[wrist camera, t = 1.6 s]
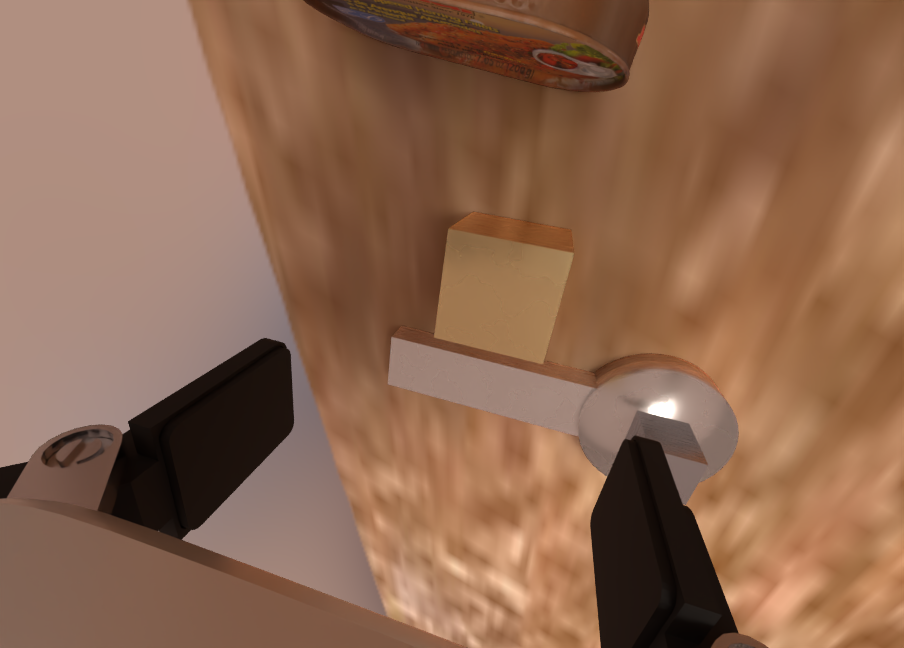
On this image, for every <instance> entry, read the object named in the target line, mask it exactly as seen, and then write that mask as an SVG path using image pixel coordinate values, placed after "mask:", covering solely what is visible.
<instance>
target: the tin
mask: <svg viewBox="0 0 904 648" xmlns="http://www.w3.org/2000/svg"><path fill="white" fill-rule="evenodd" d="M304 1H305V2H306V3H307V4H309V5H310V6H312V7H313V8H315V9H316V10H318V11H320V12H321V13H323V14H325V15H327V16H328V17H330V18H332V19H334V20H336V21H338V22H340V23H342V24H344V25H346V26H348V27H350V28H352V29H354V30H356V31H358V32H360V33H362V34H364V35H367V36H369V37H371V38H374V39H376V40H379V41H382V42H384V43H387V44H390V45H393V46H396V47H400V48H404V49H406V50H409V51H413V52H416V53H420V54H424V55H428V56H432V57H435V58H439V59H443V60H447V61H451V62H455V63H459V64H463V65H466V66H470V67H474V68H478V69H482V70H486V71H489V72H493V73H497V74H501V75H504V76H508V77H512V78H516V79H520V80H524V81H528V82H531V83H535V84H539V85H544V86H549V87H553V88H560V89H566V90H573V91H583V92H600V91H609V90H614V89H617V88H620V87H622V86H624V85H625V84H626V83H627V81H628V79H629V70H630V67H631V65H632V62H633V59H634V56H635V54H636V51H637V49H638V46H639V44H640V41H641V39H642V36H643V34H644V31H645V28H646V24H647V21H648V16H649V0H304Z"/></svg>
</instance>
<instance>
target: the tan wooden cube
mask: <svg viewBox="0 0 904 648" xmlns="http://www.w3.org/2000/svg"><path fill="white" fill-rule="evenodd" d="M573 256H574V247H573V239H572V231H571V230H570V229H564V228H559V227H554V226H548V225H543V224H537V223H532V222H527V221H521V220H516V219H510V218H505V217H500V216H494V215H489V214H483V213H478V212H472V213H471V214H469V215H468V216H466V217H465V218H463V219H462V220H460V221H459V222H457V223H456V224H454V225H453V226H451V227H450V228H448V234H447V242H446V250H445V257H444V265H443V272H442V280H441V288H440V295H439V303H438V311H437V318H436V326H435V333H434V338H438V339H442V340H446V341H450V342H454V343H458V344H462V345H466V346H470V347H474V348H478V349H482V350H486V351H491V352H495V353H499V354H503V355H507V356H511V357H515V358H519V359H523V360H527V361H531V362H535V363H539V364H543V362H544V359H545V355H546V352H547V348H548V345H549V341H550V338H551V334H552V331H553V327H554V323H555V320H556V316H557V313H558V309H559V306H560V302H561V299H562V295H563V292H564V288H565V284H566V281H567V277H568V274H569V270H570V267H571V263H572V260H573Z"/></svg>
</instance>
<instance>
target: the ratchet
mask: <svg viewBox="0 0 904 648" xmlns="http://www.w3.org/2000/svg"><path fill="white" fill-rule="evenodd" d="M388 384H389V385H392V386H396V387H400V388H403V389H407V390H411V391H414V392H418V393H422V394H425V395H429V396H432V397H436V398H440V399H443V400H447V401H451V402H454V403H458V404H462V405H465V406H469V407H473V408H476V409H480V410H483V411H487V412H491V413H494V414H498V415H502V416H505V417H509V418H513V419H516V420H520V421H523V422H527V423H531V424H534V425H538V426H542V427H545V428H549V429H553V430H556V431H560V432H564V433H567V434H571V435H574V436H578V437H579V440H580V444H581V447H582V449H583V452H584V453H585V455H586V457H587V458H588V460H589V461H590V462H591V463H592V465H593V466H595V467H596V468H597V469H598V470H599V471H600V472H602V473H603V474H604V475H606V476H607V477H608V474H609V472H610V470H611V467H612V465H613V463H614V460H615V458H616V455H617V453H618V451H619V448H620V446H621V444H622V442H623V440H624V439H628V440H631V438H632V437H633V436H635V435H636V436H640V437H644V438H647V439H651V440H655V441H658V442H660V443H661V445H662V448H663V450H664V453H665V456H666V459H667V462H668V464H669V467H670V470H671V473H672V476H673V478H674V481H675V484H676V487H677V490H678V492H679V495H680V498H681V501H682V504H685V505H686V503H687V502H688V500H689V498H690V497H691V495H692V493H693V491H694V490H695V488H696V486H697V485H698V483H700V482H702V481H704V480H706V479H708V478H709V477H711V476H713V475H714V474H715V473H717V472H718V471H719V470H721V469H722V468H723V466H724V465H725V464H726V463H727V462H728V461H729V459H730V458H731V457H732V455H733V453H734V451H735V449H736V445H737V442H738V434H739V432H738V423H737V420H736V416H735V414H734V412H733V410H732V408H731V407H730V405H729V404H728V402H727V401H726V399H725V398H724V396H723V395H722V393H721V392H720V390H719V389H718V387H717V386H716V384H715V383H714V382H713V380H712V379H711V378H710V377H709V376H708V375H707V374H706V373H705V372H704V371H703V370H701V369H700V368H699V367H697V366H695V365H694V364H692V363H690V362H688V361H686V360H683V359H681V358H677V357H674V356H670V355H664V354H652V353H651V354H637V355H631V356H627V357H623V358H620V359H617V360H615V361H612V362H611V363H609V364H607V365H605V366H603V367H602V368H600V369H599V370H598V371H596V372H595V373H593V372H589V371H585V370H581V369H577V368H573V367H569V366H565V365H560V364H556V363H552V362H548V361H544V362H543V364H539V363H535V362H531V361H527V360H523V359H519V358H515V357H511V356H507V355H503V354H499V353H495V352H491V351H486V350H482V349H478V348H474V347H470V346H466V345H462V344H458V343H454V342H450V341H446V340H442V339H438V338H434V333H430V332H426V331H422V330H418V329H414V328H410V327H406V326H401V327H400V328H399V329H398V330H397V331H396V332H395V334H394V335H393V336H392V337H391V349H390V362H389V375H388Z"/></svg>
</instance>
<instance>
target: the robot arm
mask: <svg viewBox="0 0 904 648" xmlns="http://www.w3.org/2000/svg"><path fill="white" fill-rule="evenodd" d="M292 393H293V392H292V372H291V354H290V351H289V350H288V349H287V347H286V345H285V344H284V343H282V342H279V341H275V340H271V339H267V338H264V339H260V340H259V341H257V342H256V343H254V344H252V345H251V346H249V347H248V348H246V349H244V350H243V351H241V352H239V353H238V354H236V355H235V356H233V357H231V358H230V359H228V360H227V361H225V362H223V363H222V364H220V365H218V366H217V367H215V368H214V369H212V370H210V371H209V372H207V373H206V374H204V375H202V376H201V377H199V378H197V379H196V380H194V381H193V382H191V383H189V384H188V385H186V386H185V387H183V388H181V389H180V390H178V391H177V392H175V393H173V394H172V395H170V396H168V397H167V398H165V399H164V400H162V401H160V402H159V403H157V404H155V405H154V406H152V407H151V408H149V409H147V410H146V411H144V412H143V413H141V414H139V415H138V416H136V417H135V418H133V419H131V420H130V421H128V423H129V427H130V430H129V431H127V432H126V433H124V434H122V432H121V431H120V430H119V429H118V428H116V427H114V426H111V425H89V426H84V427H80V428H76V429H73V430H70V431H67V432H64V433H62V434H60V435H58V436H56V437H54V438H52V439H50V440H48V441H47V442H46V443H44V444H43V445H42V446H40V447H39V448H38V449H37V450H36V451H35V453H34V454H33V455H32V456H31V458H30V460H29V461H28V462H25V463H20V464H15V465H10V466H6V467H1V468H0V648H467V647H464V646H462V645H459V644H456V643H454V642H451V641H449V640H446V639H443V638H441V637H438V636H436V635H433V634H430V633H428V632H425V631H423V630H420V629H417V628H415V627H412V626H409V625H407V624H404V623H402V622H399V621H396V620H394V619H391V618H389V617H386V616H383V615H380V614H378V613H375V612H372V611H370V610H367V609H365V608H362V607H360V606H357V605H354V604H351V603H349V602H346V601H344V600H341V599H338V598H335V597H333V596H330V595H328V594H325V593H322V592H320V591H317V590H314V589H312V588H309V587H306V586H304V585H301V584H298V583H296V582H293V581H290V580H288V579H285V578H283V577H280V576H277V575H274V574H272V573H269V572H267V571H264V570H261V569H259V568H256V567H253V566H250V565H248V564H245V563H242V562H240V561H236V560H234V559H232V558H229V557H226V556H223V555H221V554H218V553H215V552H213V551H210V550H207V549H205V548H202V547H199V546H196V545H193V544H191V543H188V542H185V541H183V540H182V539H183V537H185V536H186V535H187V534H188V532H189V531H190V530H195V529H197V528H198V527H200V526H201V525H202V524H203V523H204V522H205V521H206V520H207V519H208V518H209V517H210V516H211V515H212V514H213V513H214V511H215V510H217V508H218V507H219V506H220V505H221V504H222V503H223V502H224V501H225V500H226V499H227V498H228V497H229V496H230V495H231V494H232V493H233V492H234V491H235V490H236V489H237V488H238V487H239V486H240V484H242V483H243V481H244V480H245V479H246V478H247V477H248V476H249V475H250V474H251V473H252V472H253V471H254V470H255V469H256V468H257V467H258V466H259V465H260V464H261V463H262V462H263V461H264V460H265V459H266V458H267V457H268V456H269V455H270V454H271V452H272V451H273V450H274V449H275V448H276V447H277V446H278V445H279V444H280V443H281V442H282V441H283V440H284V439H285V438H286V437H287V436H288V435H289V433H290V432H291V430H292V428H293V424H294V413H293V412H294V411H293V394H292ZM590 526H591V539H592V550H593V562H594V573H595V585H596V596H597V607H598V619H599V630H600V642H601V648H768V647H767V646H765V645H764V644H762V643H761V642H759V641H757V640H755V639H753V638H751V637H749V636H746V635H742V634H739V633H738V630H737V628H736V625H735V622H734V620H733V617H732V614H731V612H730V609H729V606H728V604H727V601H726V599H725V596H724V593H723V591H722V588H721V585H720V583H719V580H718V577H717V575H716V572H715V569H714V567H713V564H712V561H711V559H710V556H709V554H708V551H707V548H706V546H705V543H704V540H703V538H702V535H701V532H700V530H699V527H698V524H697V522H696V519H695V516H694V515H693V513H692V511H691V509H690V508H688V507H687V506H684V505H683V504H682V501H681V498H680V495H679V492H678V490H677V487H676V484H675V481H674V478H673V476H672V473H671V470H670V467H669V464H668V462H667V459H666V456H665V453H664V450H663V448H662V445H661V443H660V442H658V441H655V440H651V439H647V438H644V437H640V436H636V435H635V436H633V437H632V438H631V440H628V439H624V440H623V442H622V444H621V446H620V448H619V451H618V453H617V455H616V458H615V460H614V463H613V465H612V467H611V470H610V472H609V474H608V477H607V479H606V481H605V484H604V486H603V488H602V491H601V493H600V495H599V498H598V500H597V502H596V505H595V507H594V509H593V512H592V516H591V523H590ZM158 531H159V532H158Z"/></svg>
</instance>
